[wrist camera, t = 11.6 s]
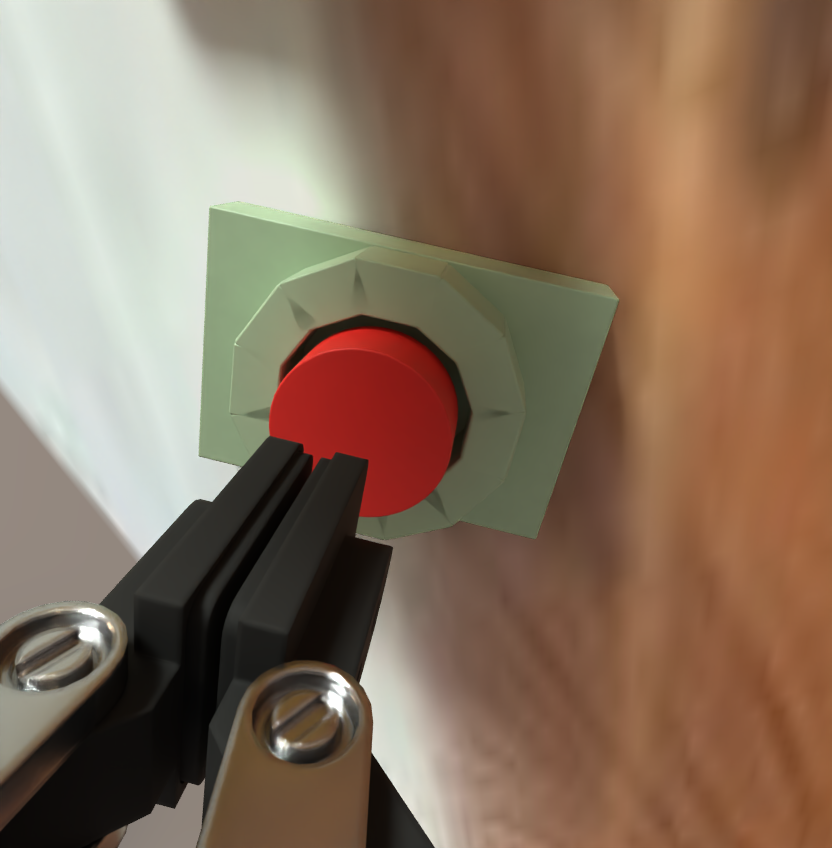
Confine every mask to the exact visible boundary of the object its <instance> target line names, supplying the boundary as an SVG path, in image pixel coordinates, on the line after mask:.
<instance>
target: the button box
mask: <svg viewBox="0 0 832 848" xmlns="http://www.w3.org/2000/svg"><path fill="white" fill-rule="evenodd" d="M618 303H619V299H618V297H617V296H616V295H615V294H614V292H613V291H612V290H611V288H610V287H609V286H608V285H605V284H601V283H596V282H592V281H588V280H583V279H579V278H574V277H570V276H565V275H561V274H557V273H552V272H548V271H543V270H539V269H535V268H530V267H526V266H521V265H517V264H513V263H508V262H504V261H499V260H495V259H491V258H486V257H482V256H477V255H473V254H469V253H464V252H460V251H455V250H451V249H447V248H442V247H438V246H433V245H429V244H424V243H420V242H416V241H411V240H407V239H402V238H398V237H394V236H389V235H385V234H380V233H376V232H372V231H367V230H363V229H358V228H354V227H350V226H345V225H341V224H336V223H332V222H328V221H323V220H319V219H314V218H310V217H306V216H301V215H297V214H292V213H288V212H284V211H279V210H275V209H270V208H266V207H261V206H257V205H253V204H248V203H244V202H239V201H238V202H232V203H226V204H220V205H214V206H210V208H209V229H208V252H207V275H206V298H205V321H204V344H203V367H202V390H201V413H200V436H199V456H200V457H204V458H208V459H212V460H216V461H220V462H224V463H228V464H232V465H236V466H240V467H243V465H244V464H245V463H246V462H247V461H248V460H249V458H250V457H251V456H252V455H253V454H254V453H255V451H256V450H257V449H258V448H259V447H260V446H261V444H262V443H263V442H264V441H265V440H266V439H267V438H268V437H269V436H270V432H269V414H270V408H271V404H272V401H273V397H274V394H275V393H276V391H277V389H278V387H279V385H280V383H281V382H282V380H283V379H284V378H285V376H286V375H287V374H288V373H289V372H290V371H291V370H292V369H293V368H294V367H295V366H296V365H297V364H298V363H299V362H300V361H301V360H302V359H303V358H304V357H305V356H306V355H307V354H308V353H309V352H310V351H311V350H312V349H313V348H314V347H315V346H316V345H317V344H319V343H320V342H321V341H323V340H324V339H325V338H327V337H329V336H331V335H332V334H334V333H337V332H340V331H342V330H345V329H349V328H353V327H362V326H378V327H384V328H389V329H393V330H396V331H399V332H402V333H404V334H406V335H409V336H411V337H413V338H414V339H416V340H417V341H419V342H421V343H422V344H423V345H425V346H426V347H427V348H428V349H430V350H431V351H432V352H433V353H434V354H435V355H436V356H437V357H438V359H439V360H440V361H441V363H442V364H443V365H444V367H445V368H446V370H447V372H448V373H449V375H450V377H451V380H452V382H453V385H454V387H455V391H456V395H457V401H458V420H457V425H456V431H455V436H454V442H453V447H452V452H451V458H450V461H449V464H448V467H447V470H446V472H445V474H444V476H443V478H442V480H441V481H440V483H439V484H438V485H437V487H436V488H435V489H434V490H433V491H432V492H431V493H430V494H429V496H427V497H426V498H425V499H424V500H422V501H421V502H420V503H418V504H416V505H415V506H413V507H411V508H409V509H407V510H404V511H402V512H400V513H396V514H393V515H388V516H382V517H359V519H358V524H357V529H356V533H358V534H362V535H366V536H370V537H374V538H378V539H382V540H384V539H385V540H389V539H394V538H399V537H404V536H409V535H414V534H419V533H423V532H428V531H433V530H438V529H443V528H448V527H452V526H453V525H454V524H456V523H457V522H458V521H463V522H467V523H471V524H475V525H479V526H483V527H487V528H491V529H495V530H499V531H503V532H507V533H511V534H515V535H519V536H523V537H527V538H532V539H536V538H537V535H538V532H539V529H540V526H541V523H542V521H543V518H544V515H545V512H546V509H547V506H548V503H549V500H550V498H551V495H552V492H553V489H554V486H555V483H556V480H557V478H558V475H559V472H560V469H561V466H562V463H563V460H564V458H565V455H566V452H567V449H568V446H569V443H570V440H571V438H572V435H573V432H574V429H575V426H576V423H577V420H578V417H579V415H580V412H581V409H582V406H583V403H584V400H585V397H586V395H587V392H588V389H589V386H590V383H591V380H592V377H593V375H594V372H595V369H596V366H597V363H598V360H599V357H600V355H601V352H602V349H603V346H604V343H605V340H606V337H607V334H608V332H609V329H610V326H611V323H612V320H613V317H614V314H615V312H616V309H617V306H618Z"/></svg>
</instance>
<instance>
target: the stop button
mask: <svg viewBox="0 0 832 848" xmlns="http://www.w3.org/2000/svg"><path fill="white" fill-rule="evenodd" d="M457 420H458V401H457V395H456V391H455V387H454V385H453V382H452V380H451V377H450V375H449V373H448V372H447V370H446V368H445V367H444V365H443V364H442V363H441V361H440V360H439V359H438V357H437V356H436V355H435V354H434V353H433V352H432V351H431V350H430V349H428V348H427V347H426V346H425V345H423V344H422V343H421V342H419V341H417V340H416V339H414V338H413V337H411V336H409V335H406V334H404V333H402V332H399V331H396V330H393V329H389V328H384V327H378V326H362V327H353V328H349V329H345V330H342V331H340V332H337V333H334V334H332V335H331V336H329V337H327V338H325V339H324V340H323V341H321V342H320V343H319V344H317V345H316V346H315V347H314V348H313V349H312V350H311V351H310V352H309V353H308V354H307V355H306V356H305V357H304V358H303V359H302V360H301V361H300V362H299V363H298V364H297V365H296V366H295V367H294V368H293V369H292V370H291V371H290V372H289V373H288V374H287V375H286V376H285V378H284V379H283V380H282V382H281V383H280V385H279V387H278V389H277V391H276V393H275V394H274V397H273V401H272V404H271V408H270V414H269V432H270V436H273V437H277V438H281V439H285V440H289V441H293V442H298V443H302V444H303V446H304V453H307V454H311V455H313V467H312V471H313V470H314V468H315V466H316V465H317V463H318V462H319V460H320V459H321V457H323V458H327V459H332V457H333V456H334V454H335V453H336V452H339V453H343V454H347V455H351V456H355V457H360V458H364V459H368V461H369V463H368V471H367V476H366V482H365V487H364V492H363V498H362V503H361V508H360V513H359V517H382V516H388V515H393V514H396V513H400V512H402V511H404V510H407V509H409V508H411V507H413V506H415V505H416V504H418V503H420V502H421V501H422V500H424V499H425V498H426V497H427V496H429V494H430V493H431V492H432V491H433V490H434V489H435V488H436V487H437V485H438V484H439V483H440V481H441V480H442V478H443V476H444V474H445V472H446V470H447V467H448V464H449V461H450V458H451V452H452V447H453V442H454V436H455V431H456V425H457Z"/></svg>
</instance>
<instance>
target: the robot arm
mask: <svg viewBox="0 0 832 848" xmlns="http://www.w3.org/2000/svg"><path fill="white" fill-rule="evenodd" d="M368 463H369V461H368V459H364V458H360V457H355V456H351V455H347V454H343V453H339V452H336V453H335V454H334V456H333V457H332V459H327V458H323V457H321V459H320V460H319V462H318V463H317V465H316V466H315V468H314V470H313V471H312V467H313V455H311V454H307V453H304V446H303V444H302V443H298V442H293V441H289V440H285V439H281V438H277V437H273V436H269V437H268V438H267V439H266V440H265V441H264V442H263V443H262V444H261V446H260V447H259V448H258V449H257V450H256V451H255V453H254V454H253V455H252V456H251V457H250V458H249V460H248V461H247V462H246V463H245V464H244V465H243V467H242V468H241V469H240V470H239V471H238V472H237V474H236V475H235V476H234V477H233V478H232V479H231V481H230V482H229V483H228V484H227V485H226V487H225V488H224V489H223V490H222V491H221V492H220V494H219V495H218V496H217V497H216V498H215V499H214V501H213V502H210V501H206V500H202V499H199V500H195V501H194V502H193V503H192V504H191V505H189V506H188V508H187V509H186V510H185V511H184V512H183V513H182V514H181V515H180V516H179V517H178V519H177V520H176V521H175V522H174V523H173V524H172V525H171V526H170V527H169V528H168V529H167V531H166V532H165V533H164V534H163V535H162V536H161V537H160V538H159V539H158V540H157V542H156V543H155V544H154V545H153V546H152V547H151V548H150V549H149V550H148V551H147V553H146V554H145V555H144V556H143V557H142V558H141V559H140V560H139V561H138V562H137V563H136V565H135V566H134V567H133V568H132V569H131V570H130V571H129V572H128V573H127V574H126V576H125V577H124V578H123V579H122V580H121V581H120V582H119V583H118V584H117V585H116V587H115V588H114V589H113V590H112V591H111V592H110V593H109V594H108V595H107V597H105V599H104V600H103V601H102V602H101V603H100V604H99V605H97V604H93V603H89V602H82V601H81V602H80V601H79V602H78V601H64V602H57V603H52V604H46V605H41V606H38V607H36V608H33V609H30V610H28V611H25V612H22V613H20V614H18V615H16V616H14V617H13V618H11V619H9V620H8V621H6V622H4V623H3V624H1V625H0V848H118V846H119V844H120V842H121V840H122V839H123V837H124V835H125V833H126V830H127V826H128V824H130V823H132V822H134V821H136V820H138V819H140V818H142V817H144V816H146V815H148V814H150V813H151V812H152V810H153V808H154V806H155V804H159V805H163V806H167V807H171V808H174V809H175V807H176V805H177V803H178V801H179V799H180V797H181V795H182V793H183V791H184V789H185V788H186V785H187V784H188V783H192V784H195V785H200V784H201V783H202V781H203V780H204V778H205V789H204V802H203V816H202V829H201V832H200V835H199V839H198V842H197V845H196V848H435V847H434V846H433V844H432V843H431V841H430V840H429V838H428V837H427V835H426V834H425V832H424V831H423V829H422V828H421V826H420V825H419V823H418V822H417V820H416V819H415V817H414V816H413V814H412V813H411V811H410V810H409V808H408V807H407V805H406V804H405V802H404V801H403V799H402V798H401V796H400V795H399V793H398V792H397V790H396V789H395V787H394V786H393V784H392V783H391V781H390V780H389V778H388V777H387V775H386V774H385V772H384V771H383V769H382V768H381V766H380V765H379V763H378V762H377V760H376V759H375V757H374V756H373V754H372V752H371V750H372V733H373V717H372V708H371V703H370V701H369V699H368V697H367V695H366V693H365V691H364V689H363V687H362V686H361V685H360V684H359V682H360V679H361V675H362V672H363V668H364V664H365V661H366V657H367V653H368V650H369V646H370V642H371V639H372V635H373V631H374V628H375V624H376V620H377V616H378V612H379V608H380V604H381V600H382V596H383V591H384V587H385V583H386V578H387V574H388V569H389V565H390V560H391V555H392V550H393V547H392V546H388V545H383V544H379V543H375V542H371V541H367V540H363V539H359V538H355V535H356V529H357V524H358V519H359V513H360V508H361V503H362V498H363V492H364V487H365V482H366V476H367V471H368Z"/></svg>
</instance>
